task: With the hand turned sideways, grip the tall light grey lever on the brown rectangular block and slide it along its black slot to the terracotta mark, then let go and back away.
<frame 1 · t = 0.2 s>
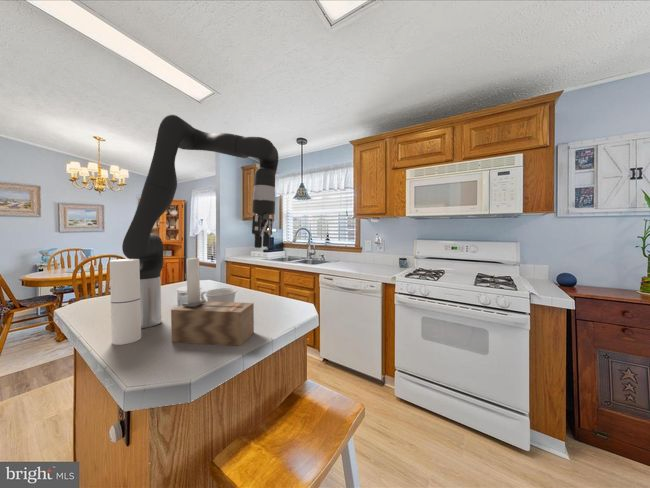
hand: (262, 247, 86), 29 cm above the countertop, tool pointing down, fingers open, 8 cm apart
cylindrical container: (127, 340, 78), on the countertop
lever: (193, 281, 80), point 18 cm above the countertop, slide at -7.0 cm
brown rectangular block: (214, 337, 80), on the countertop
teacup: (218, 316, 101), on the countertop
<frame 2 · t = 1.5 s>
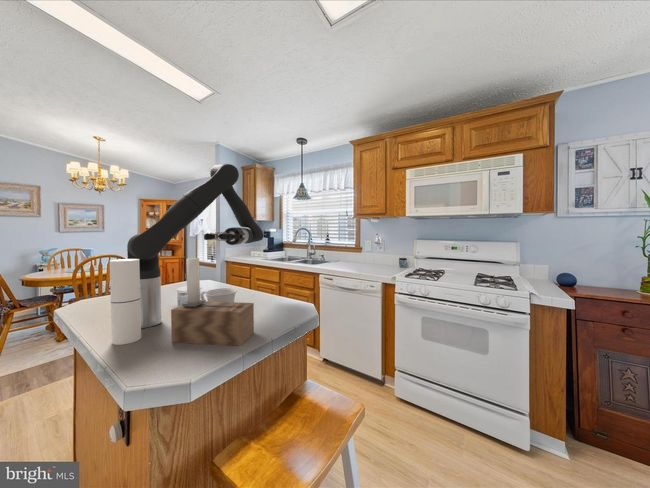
hand: (215, 236, 93), 32 cm above the countertop, tool horizontal, fingers open, 8 cm apart
nothing on the countertop moved.
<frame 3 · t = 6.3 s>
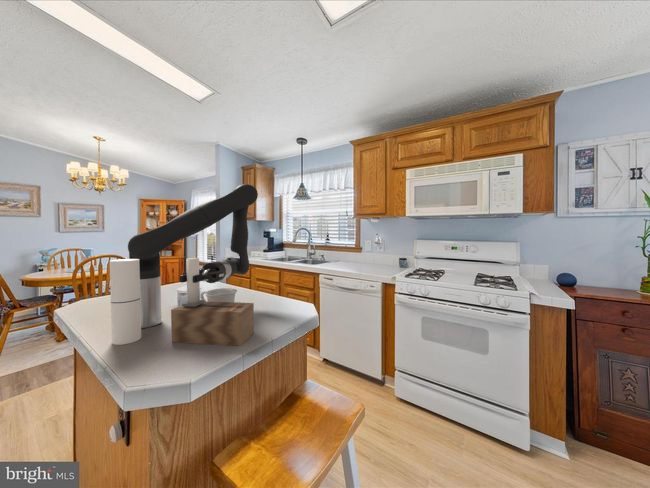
hand: (187, 279, 77), 19 cm above the countertop, tool horizontal, fingers closed on lever, 3 cm apart
lever: (193, 281, 80), point 18 cm above the countertop, slide at -7.0 cm, touching gripper
everything else where it was.
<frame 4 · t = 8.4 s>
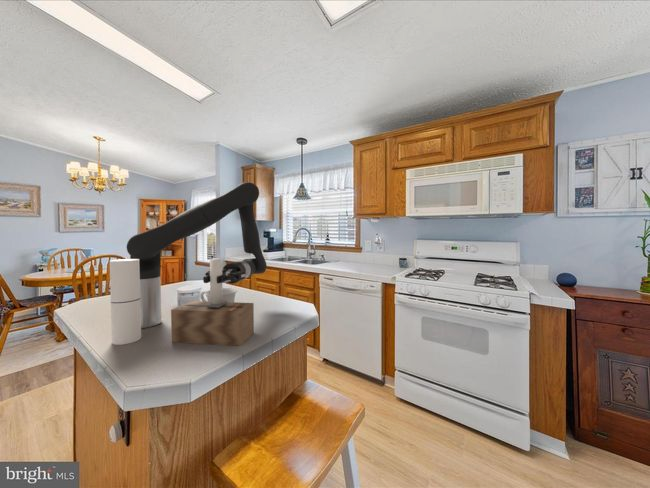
hand: (211, 279, 76), 19 cm above the countertop, tool horizontal, fingers closed on lever, 3 cm apart
lever: (216, 282, 79), point 18 cm above the countertop, slide at 0.8 cm, touching gripper
everything else where it was.
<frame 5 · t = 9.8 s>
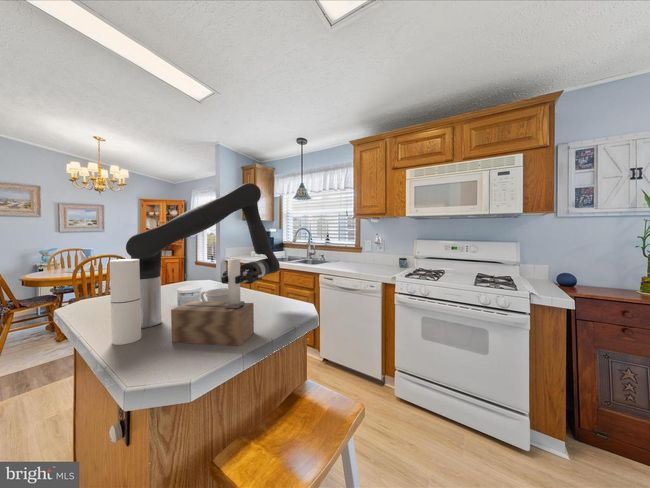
hand: (229, 280, 76), 19 cm above the countertop, tool horizontal, fingers closed on lever, 3 cm apart
lever: (234, 282, 78), point 18 cm above the countertop, slide at 6.8 cm, touching gripper
everything else where it was.
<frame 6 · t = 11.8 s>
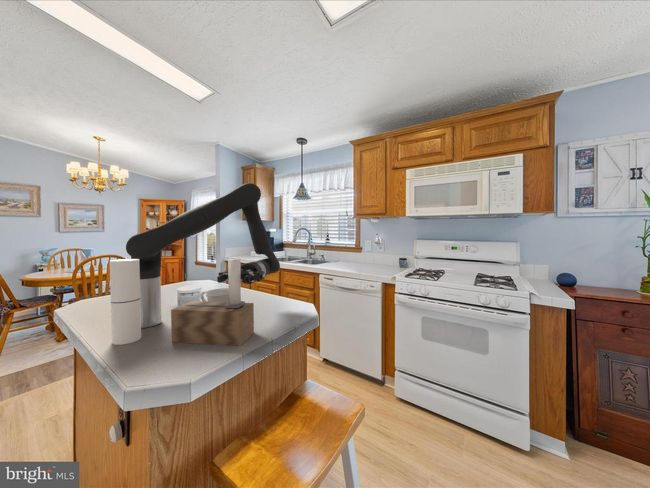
hand: (232, 279, 76), 19 cm above the countertop, tool horizontal, fingers open, 8 cm apart
lever: (234, 282, 78), point 18 cm above the countertop, slide at 6.9 cm
everything else where it was.
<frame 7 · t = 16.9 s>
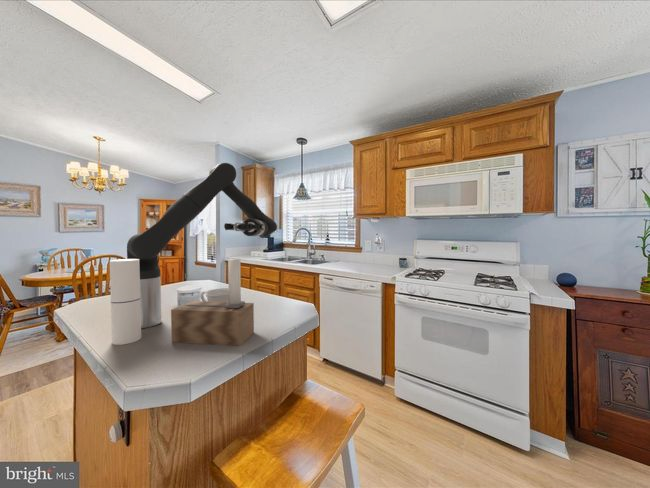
hand: (236, 226, 92), 36 cm above the countertop, tool horizontal, fingers open, 8 cm apart
nothing on the countertop moved.
at the end: lever slide at 6.9 cm; the gripper is holding nothing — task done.
